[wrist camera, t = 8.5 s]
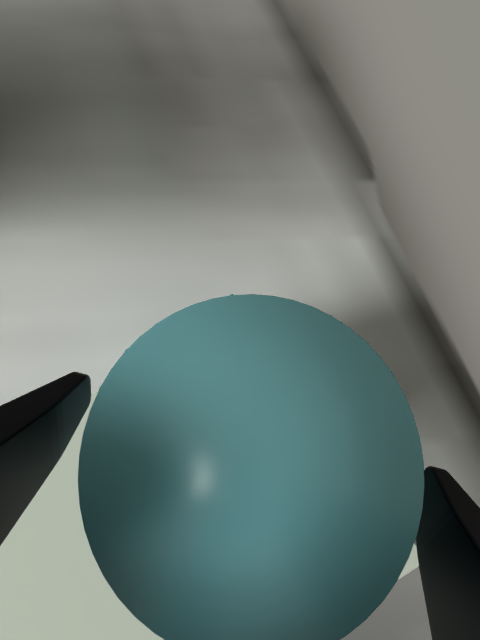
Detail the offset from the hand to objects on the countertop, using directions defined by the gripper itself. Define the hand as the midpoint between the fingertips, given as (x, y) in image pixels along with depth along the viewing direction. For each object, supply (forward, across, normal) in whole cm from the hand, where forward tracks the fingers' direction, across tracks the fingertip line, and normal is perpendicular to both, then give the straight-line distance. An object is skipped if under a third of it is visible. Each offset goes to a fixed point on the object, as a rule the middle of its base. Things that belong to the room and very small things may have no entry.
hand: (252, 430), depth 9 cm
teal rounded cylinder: (+6, 0, +6) cm, 9 cm away
